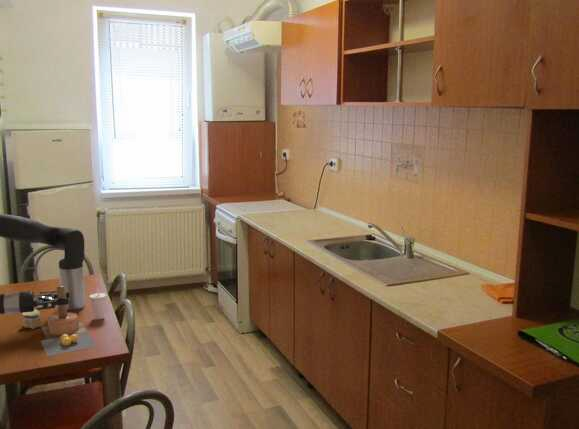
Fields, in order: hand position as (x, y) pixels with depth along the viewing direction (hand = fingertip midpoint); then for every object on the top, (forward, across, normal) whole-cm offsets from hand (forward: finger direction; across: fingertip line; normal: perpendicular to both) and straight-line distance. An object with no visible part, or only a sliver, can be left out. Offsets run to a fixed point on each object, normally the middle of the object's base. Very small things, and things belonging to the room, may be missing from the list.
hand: (68, 298), depth 207 cm
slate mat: (0, -15, +12) cm, 19 cm away
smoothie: (+10, +9, +13) cm, 18 cm away
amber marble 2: (-1, -17, +10) cm, 20 cm away
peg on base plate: (-2, 0, +12) cm, 12 cm away
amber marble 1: (-1, -14, +10) cm, 17 cm away
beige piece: (-14, +9, +13) cm, 21 cm away
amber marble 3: (+2, -14, +10) cm, 18 cm away
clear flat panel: (-2, 0, +12) cm, 13 cm away
